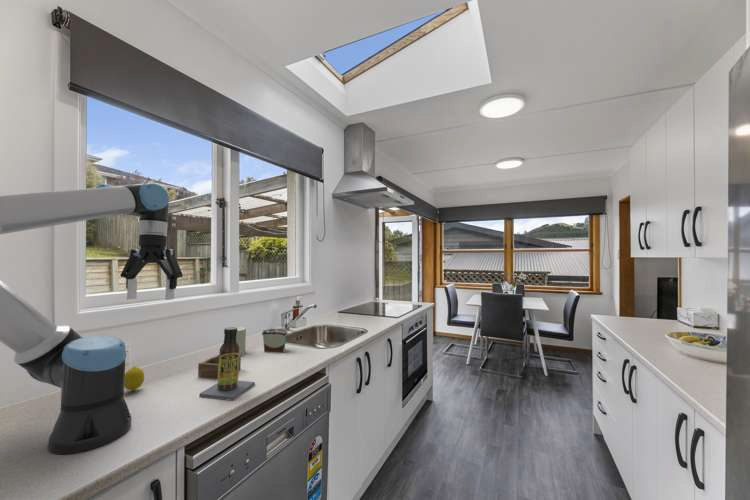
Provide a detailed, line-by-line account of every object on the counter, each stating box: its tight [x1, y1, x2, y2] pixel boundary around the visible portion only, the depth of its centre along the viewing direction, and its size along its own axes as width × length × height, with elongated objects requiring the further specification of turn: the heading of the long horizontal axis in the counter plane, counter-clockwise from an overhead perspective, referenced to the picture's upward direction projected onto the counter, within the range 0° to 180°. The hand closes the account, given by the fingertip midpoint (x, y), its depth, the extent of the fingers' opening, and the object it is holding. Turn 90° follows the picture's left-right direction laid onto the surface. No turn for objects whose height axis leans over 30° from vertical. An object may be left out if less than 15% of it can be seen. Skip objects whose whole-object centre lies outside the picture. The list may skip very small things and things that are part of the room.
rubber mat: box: [198, 379, 256, 401], centre depth 103 cm, size 12×12×1 cm
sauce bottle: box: [216, 326, 240, 390], centre depth 103 cm, size 6×6×20 cm
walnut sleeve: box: [197, 354, 242, 380], centre depth 118 cm, size 10×10×5 cm
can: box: [236, 326, 247, 357], centre depth 141 cm, size 9×9×12 cm
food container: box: [261, 328, 288, 354], centre depth 147 cm, size 12×6×10 cm, turn 84°
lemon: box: [124, 366, 145, 392], centre depth 101 cm, size 6×6×8 cm
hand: (150, 299), depth 100 cm, fingers open, 13 cm apart
